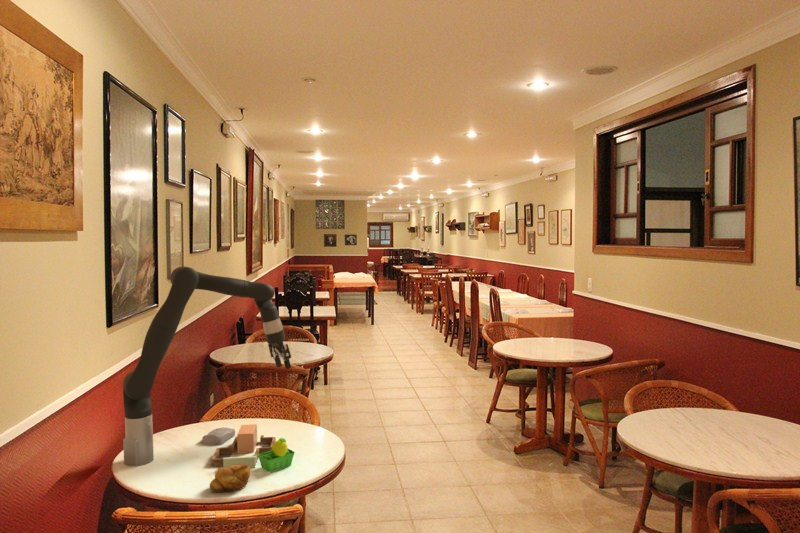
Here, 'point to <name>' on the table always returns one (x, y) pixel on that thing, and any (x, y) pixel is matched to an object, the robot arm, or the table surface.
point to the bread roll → (230, 478)
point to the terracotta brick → (247, 438)
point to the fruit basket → (276, 456)
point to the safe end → (239, 461)
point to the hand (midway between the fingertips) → (283, 367)
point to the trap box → (226, 451)
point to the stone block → (219, 436)
